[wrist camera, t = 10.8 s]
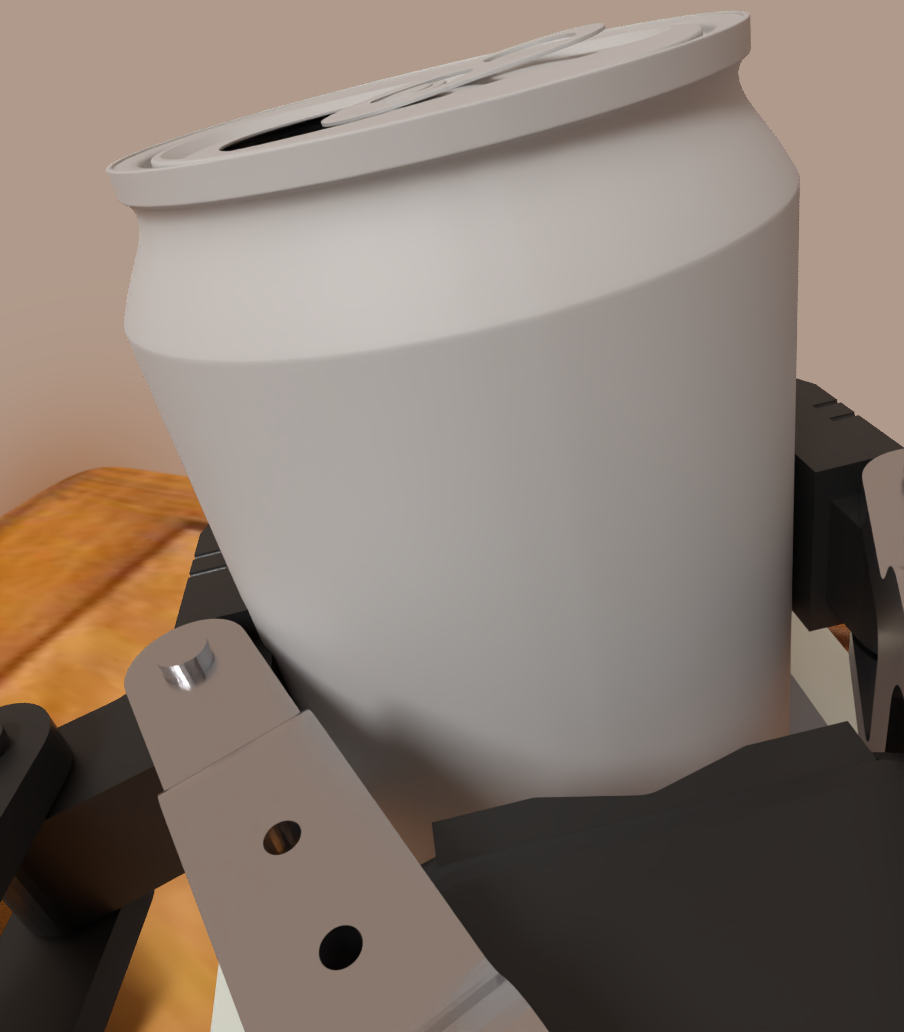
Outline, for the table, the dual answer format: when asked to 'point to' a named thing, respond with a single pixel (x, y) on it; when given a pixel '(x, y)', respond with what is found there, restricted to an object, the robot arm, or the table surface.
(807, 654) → the plinth
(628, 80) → the beverage can
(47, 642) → the table surface
